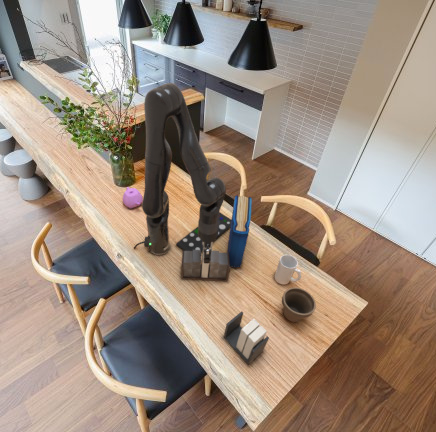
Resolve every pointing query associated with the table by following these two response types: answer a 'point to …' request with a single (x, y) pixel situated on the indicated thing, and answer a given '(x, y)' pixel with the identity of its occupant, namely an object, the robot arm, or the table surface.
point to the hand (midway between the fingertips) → (206, 254)
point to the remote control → (195, 242)
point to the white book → (204, 267)
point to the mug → (287, 270)
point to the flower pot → (297, 304)
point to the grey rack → (216, 269)
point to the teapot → (132, 198)
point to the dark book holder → (246, 338)
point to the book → (239, 230)
